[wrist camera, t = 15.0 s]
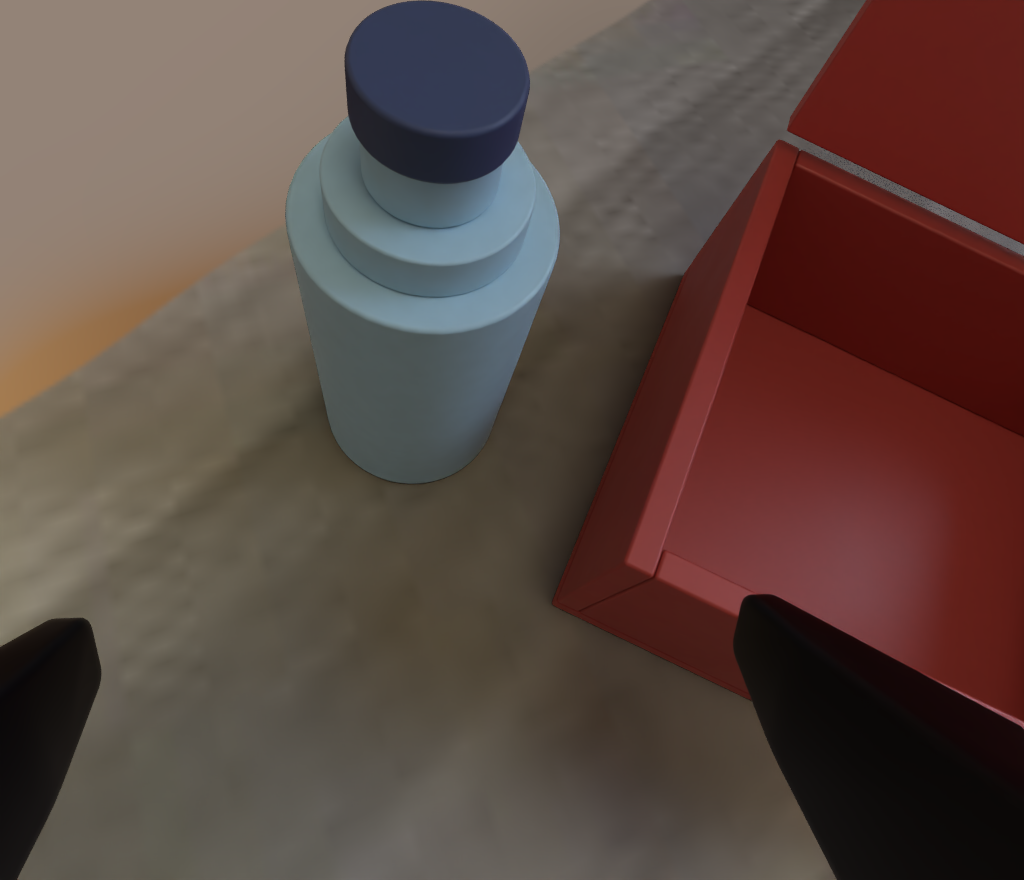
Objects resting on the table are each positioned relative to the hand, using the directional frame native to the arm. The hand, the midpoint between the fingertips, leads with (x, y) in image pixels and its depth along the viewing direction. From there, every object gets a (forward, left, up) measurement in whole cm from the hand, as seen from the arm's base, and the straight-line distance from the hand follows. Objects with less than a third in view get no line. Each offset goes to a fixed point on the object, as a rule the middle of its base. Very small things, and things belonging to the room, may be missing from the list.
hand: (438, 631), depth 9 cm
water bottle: (+4, +6, -10) cm, 12 cm away
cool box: (+14, -4, -10) cm, 17 cm away
